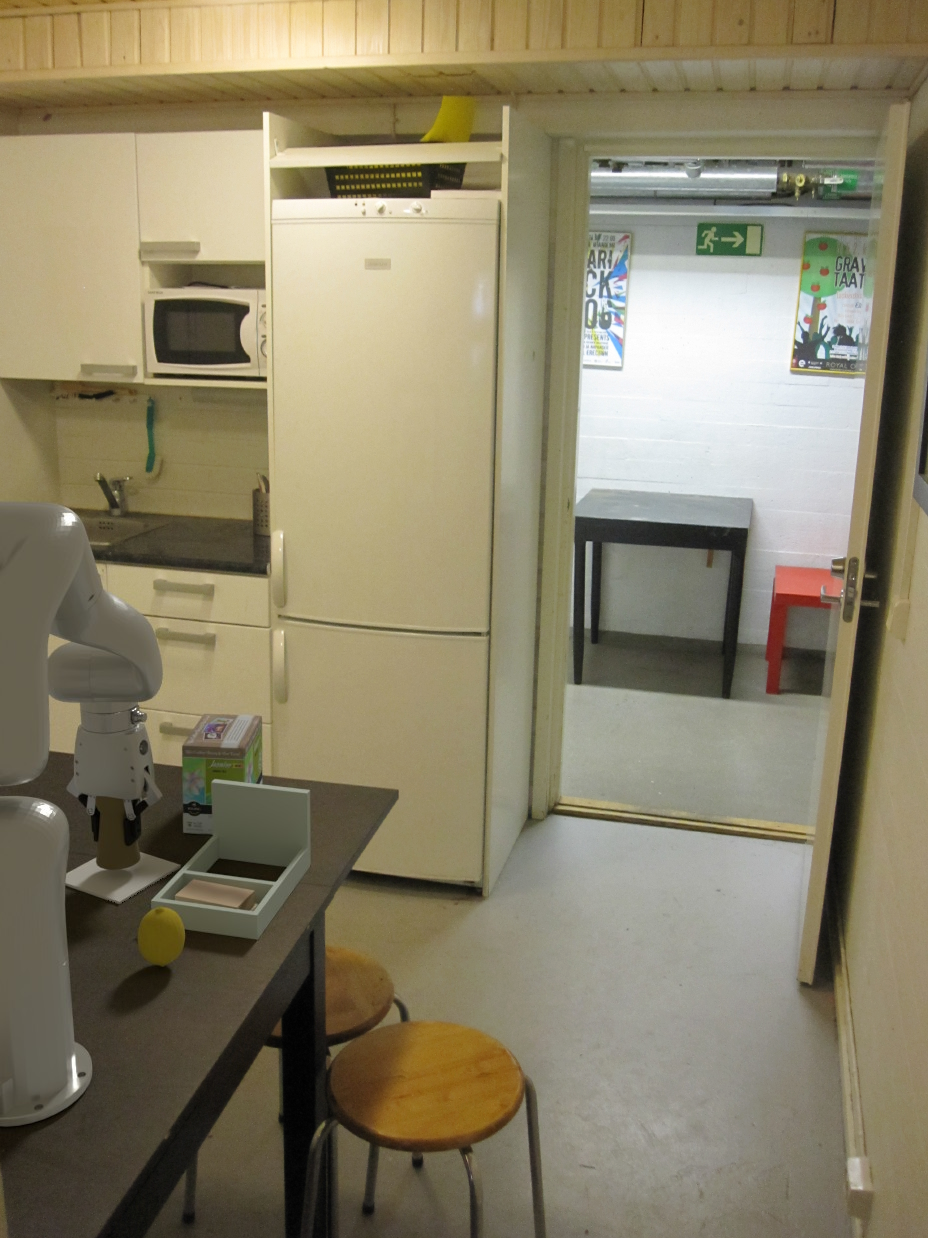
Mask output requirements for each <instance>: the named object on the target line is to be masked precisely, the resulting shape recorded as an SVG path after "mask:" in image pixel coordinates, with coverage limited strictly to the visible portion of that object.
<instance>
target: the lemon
mask: <svg viewBox="0 0 928 1238" xmlns="http://www.w3.org/2000/svg"><path fill="white" fill-rule="evenodd" d="M185 930H186V929H184V926H183V923H182V920H181V918H180V916H179V915H178V914H177V913H176V912H175V911H174V910H172V909H170V908H166V907H158V908H155V909H153V910H149V911H148V912H147V913H145V915H144V916H143V917H142V919H141V920H140V924H139V927H138V931H137V945H138V950H139V953H140V954H141V956H142V957H143V959H144V960H145V961H146V962H148V963H149V964H152V965H155V966H159V967H165V966H166V965H168V964H170V963H172V962H174V961H175V960H176V959H178V958H179V956H180V955H181V953H182V951H183V949H184V945H185V940H186V932H185Z"/></svg>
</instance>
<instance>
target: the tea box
mask: <svg viewBox="0 0 928 1238" xmlns="http://www.w3.org/2000/svg"><path fill="white" fill-rule="evenodd" d="M262 717H263V716H262V715H257V714H256V715H253V714H252V715H251V714H249V715H248V714H225V713H224V714H223V713H222V714H221V713H203V715H202V716H201V718H200V719H199V720H198V722H197V724H195V726H194V728H193V729H192V731H191V732H190V734H188V736H187V738H186V739H185V741H184V742H183V744H182V745H181V757H182V758H181V760H182V761H181V764H182V765H181V767H182V827H183V828H182V832H183V834H196V835H213V823H212V793H211V782H212V781H213V780H214V779H219V780H227V781H236V782H245V783H253V784H262V785H263V718H262Z"/></svg>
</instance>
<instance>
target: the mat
mask: <svg viewBox="0 0 928 1238" xmlns="http://www.w3.org/2000/svg"><path fill="white" fill-rule="evenodd" d="M140 856H141V858H140V861H139V862H138V863H137V864H135V865H133V866H131V867H128V868H125V869H120V870H107V869H103V868H100V867H99V866H97V864H96V857H94V858H93V859H91V860H89V861H87V862H85V863H83V864H81V865H79V866H78V867H76V868H74V869H72V870H71V871H69V872H66V882H65V887H66V886H67V887H69V888H72V889H75V890H77V891H80V892H82V893H83V892H84V893H86V894H89V895H92V896H95V897H98V898H100V899H103V900H106V901H108V900H109V902H111V901H112V902H111V903H114V902H115V903H114V904H117V905H121V904H123V903H125V902H126V901H128V900H130V899H131V898H133V897H134V895H135V896H136V895H137V893H138V892H139V893H141V892H143V891H145V890H146V889H148V888H149V887H151V886H152V884H153V885H155V884H156V883H157V881H158V882H160V879H161V880H162V878H163V879H164V878H166V877H167V875H168V876H169V875H171V874H173V873H174V872H176V871H178V870H180V869H182V866H181V865H182V864H179V863H176V862H173V861H169V860H166V859H163V858H159V857H157V856H154V855H151V854H148V853H144V852H142V851H140ZM172 872H173V873H172ZM155 882H156V883H155ZM150 885H151V886H150ZM148 886H149V887H148ZM147 887H148V888H147ZM145 888H146V889H145ZM142 890H143V891H142ZM140 891H141V892H140ZM139 893H138V894H139ZM130 897H131V898H130ZM129 898H130V899H129ZM124 901H125V902H124ZM122 902H123V903H122Z"/></svg>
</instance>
